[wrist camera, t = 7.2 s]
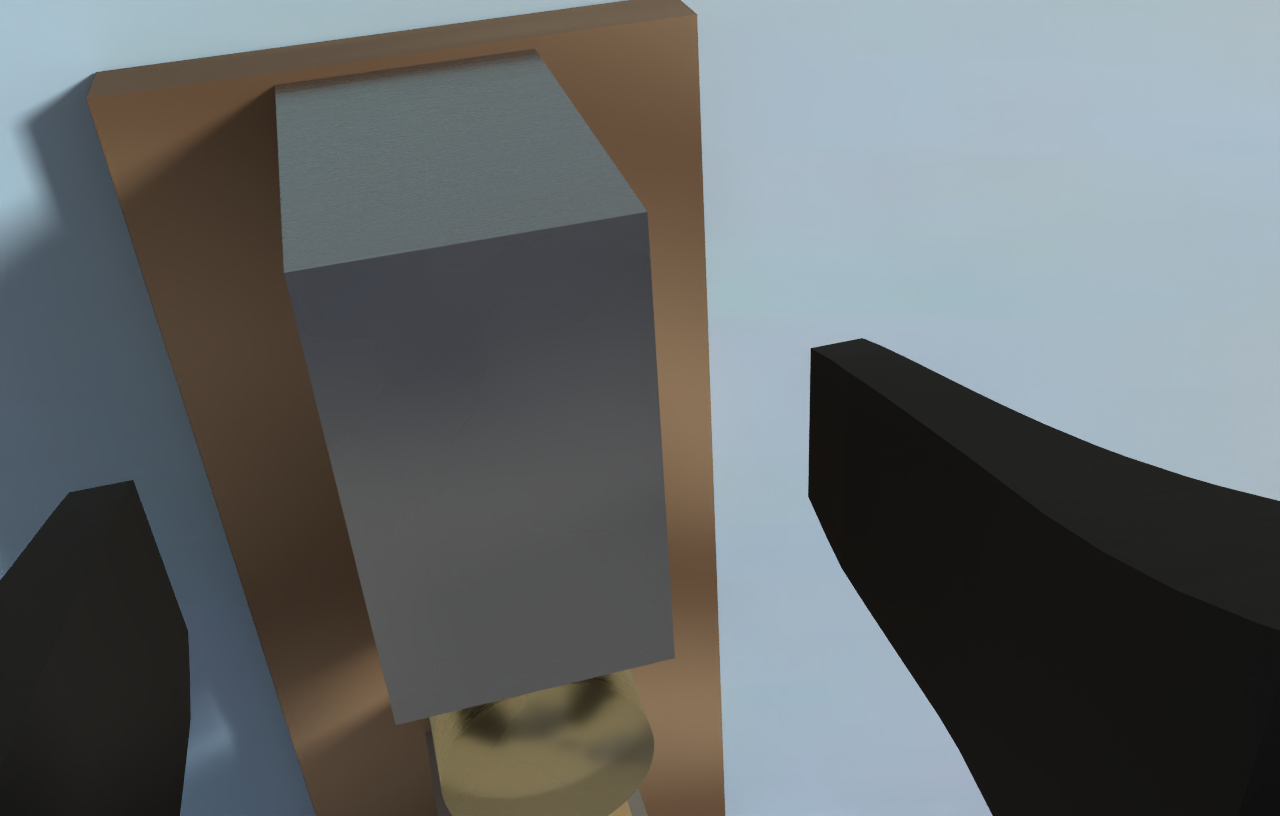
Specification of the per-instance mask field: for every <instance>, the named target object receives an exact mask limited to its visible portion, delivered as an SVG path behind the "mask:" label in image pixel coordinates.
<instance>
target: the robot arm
mask: <svg viewBox="0 0 1280 816" xmlns="http://www.w3.org/2000/svg"><path fill="white" fill-rule="evenodd" d="M808 497H809V499H810V501H811V503H812V506H813V508H814V510H815V512H816V515H817V517H818V519H819V521H820V523H821V526H822V528H823V530H824V532H825V535H826V537H827V539H828V541H829V543H830V545H831V547H832V549H833V551H834V553H835V555H836V557H837V559H838V561H839V563H840V566H841V568H842V569H843V571H844V572H845V574H846V576H847V577H848V579H849V580H850V582H851V583H852V585H853V587H854V588H855V590H856V591H857V593H858V594H859V596H860V597H861V599H862V600H863V602H864V604H865V605H866V607H867V608H868V610H869V611H870V613H871V614H872V616H873V617H874V619H875V620H876V622H877V623H878V625H879V626H880V628H881V629H882V631H883V632H884V634H885V636H886V637H887V639H888V640H889V642H890V643H891V645H892V646H893V648H894V649H895V651H896V652H897V654H898V655H899V657H900V658H901V660H902V661H903V663H904V664H905V666H906V667H907V669H908V670H909V672H910V673H911V675H912V676H913V678H914V679H915V681H916V682H917V684H918V685H919V687H920V688H921V690H922V691H923V693H924V694H925V696H926V697H927V699H928V700H929V702H930V703H931V705H932V706H933V708H934V709H935V711H936V712H937V714H938V715H939V717H940V719H941V720H942V722H943V724H944V725H945V727H946V729H947V730H948V732H949V734H950V735H951V737H952V739H953V740H954V742H955V744H956V746H957V747H958V749H959V751H960V753H961V755H962V756H963V758H964V760H965V762H966V764H967V766H968V768H969V770H970V772H971V774H972V776H973V778H974V780H975V782H976V784H977V786H978V788H979V790H980V792H981V794H982V795H983V797H984V799H985V801H986V803H987V805H988V807H989V809H990V811H991V813H992V815H993V816H1280V501H1277V500H1273V499H1269V498H1265V497H1261V496H1257V495H1253V494H1249V493H1245V492H1241V491H1237V490H1233V489H1229V488H1225V487H1221V486H1217V485H1214V484H1210V483H1207V482H1203V481H1200V480H1196V479H1193V478H1189V477H1186V476H1183V475H1180V474H1177V473H1174V472H1171V471H1168V470H1165V469H1162V468H1159V467H1156V466H1153V465H1150V464H1146V463H1143V462H1140V461H1137V460H1134V459H1131V458H1128V457H1125V456H1123V455H1120V454H1117V453H1115V452H1112V451H1109V450H1106V449H1104V448H1101V447H1099V446H1096V445H1093V444H1091V443H1089V442H1086V441H1084V440H1081V439H1079V438H1076V437H1074V436H1072V435H1069V434H1067V433H1064V432H1062V431H1060V430H1057V429H1055V428H1052V427H1050V426H1048V425H1045V424H1043V423H1041V422H1038V421H1036V420H1034V419H1032V418H1030V417H1027V416H1025V415H1023V414H1021V413H1018V412H1016V411H1014V410H1012V409H1010V408H1008V407H1006V406H1003V405H1001V404H999V403H997V402H995V401H993V400H991V399H989V398H987V397H985V396H982V395H980V394H978V393H976V392H974V391H972V390H970V389H968V388H966V387H964V386H962V385H960V384H958V383H956V382H954V381H952V380H950V379H948V378H946V377H944V376H942V375H940V374H938V373H936V372H934V371H932V370H930V369H928V368H926V367H924V366H922V365H920V364H918V363H916V362H914V361H912V360H910V359H908V358H906V357H904V356H902V355H899V354H897V353H895V352H893V351H891V350H889V349H887V348H885V347H882V346H880V345H878V344H875V343H873V342H870V341H868V340H866V339H863V338H861V339H856V340H851V341H846V342H841V343H836V344H830V345H825V346H820V347H815V348H811V370H810V428H809V486H808ZM189 728H190V670H189V644H188V630H187V628H186V625H185V622H184V619H183V617H182V614H181V611H180V608H179V605H178V603H177V600H176V597H175V594H174V592H173V589H172V586H171V583H170V581H169V578H168V575H167V572H166V570H165V567H164V564H163V561H162V559H161V556H160V553H159V550H158V547H157V545H156V542H155V539H154V536H153V534H152V531H151V528H150V525H149V523H148V520H147V517H146V514H145V512H144V509H143V506H142V503H141V501H140V498H139V495H138V492H137V489H136V487H135V484H134V481H133V480H131V481H126V482H121V483H116V484H111V485H106V486H100V487H95V488H90V489H85V490H80V491H75V492H70V493H69V494H68V495H67V496H66V497H65V498H64V499H63V501H62V502H61V503H60V504H59V506H58V507H57V508H56V509H55V511H54V512H53V513H52V514H51V516H50V517H49V518H48V520H47V521H46V522H45V523H44V525H43V526H42V527H41V529H40V530H39V531H38V533H37V534H36V535H35V537H34V538H33V539H32V540H31V542H30V543H29V544H28V546H27V547H26V548H25V550H24V551H23V552H22V553H21V555H20V556H19V557H18V559H17V560H16V561H15V562H14V564H13V565H12V566H11V568H10V569H9V570H8V571H7V573H6V574H5V575H4V576H3V578H2V579H1V580H0V816H180V809H181V800H182V792H183V783H184V774H185V765H186V756H187V747H188V738H189Z"/></svg>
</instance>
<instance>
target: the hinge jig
mask: <svg viewBox="0 0 1280 816" xmlns="http://www.w3.org/2000/svg"><path fill="white" fill-rule="evenodd" d="M529 49H535V50H536V51H537V53H538V54H539V56H540V57H541V58H542V60H543V61H544V63H545V64H546V66H547V67H548V69H549V70H550V71H551V73H552V74H553V76H554V77H555V79H556V80H557V82H558V83H559V84H560V86H561V87H562V89H563V90H564V92H565V93H566V95H567V96H568V97H569V99H570V100H571V102H572V103H573V105H574V106H575V108H576V109H577V110H578V112H579V113H580V115H581V116H582V118H583V119H584V121H585V122H586V123H587V125H588V126H589V128H590V129H591V131H592V132H593V134H594V135H595V137H596V138H597V139H598V141H599V142H600V144H601V145H602V147H603V148H604V150H605V151H606V152H607V154H608V155H609V157H610V158H611V160H612V161H613V163H614V164H615V165H616V167H617V168H618V170H619V171H620V173H621V174H622V176H623V177H624V178H625V180H626V181H627V183H628V184H629V186H630V187H631V189H632V190H633V191H634V193H635V194H636V196H637V197H638V199H639V200H640V202H641V203H642V205H643V206H644V207H645V209H646V210H647V212H648V227H649V243H650V260H651V276H652V292H653V308H654V325H655V341H656V357H657V373H658V390H659V406H660V422H661V439H662V455H663V471H664V487H665V504H666V520H667V536H668V552H669V569H670V585H671V601H672V617H673V634H674V650H675V658H674V659H669V660H665V661H661V662H657V663H653V664H649V665H644V666H640V667H636V668H632V669H630V672H631V674H632V677H633V680H634V683H635V685H636V688H637V691H638V693H639V696H640V699H641V702H642V704H643V707H644V710H645V713H646V715H647V718H648V721H649V724H650V726H651V729H652V732H653V737H654V754H653V759H652V763H651V765H650V768H649V771H648V773H647V775H646V777H645V778H644V780H643V782H642V783H641V785H640V786H639V787H638V789H637V790H636V791H635V792H634V794H633V795H632V796H631V797H630V798H629V799H628V800H627V801H626V802H625V803H624V804H623V805H621V806H620V807H619V808H618V809H616V810H615V811H614V812H612V813H611V814H610V815H608V816H725V798H724V770H723V741H722V713H721V685H720V656H719V628H718V600H717V571H716V543H715V515H714V486H713V458H712V429H711V401H710V373H709V344H708V316H707V288H706V259H705V231H704V202H703V174H702V146H701V117H700V89H699V61H698V32H697V14H696V13H695V12H694V11H693V10H691V9H690V8H689V7H688V6H687V5H685V4H684V3H683V2H682V1H681V0H628V1H620V2H613V3H606V4H598V5H591V6H583V7H576V8H569V9H561V10H554V11H546V12H539V13H532V14H524V15H517V16H509V17H502V18H494V19H487V20H480V21H472V22H465V23H457V24H450V25H443V26H435V27H428V28H420V29H413V30H406V31H398V32H391V33H383V34H376V35H369V36H361V37H354V38H346V39H339V40H332V41H324V42H317V43H309V44H302V45H295V46H287V47H280V48H272V49H265V50H257V51H250V52H243V53H235V54H228V55H220V56H213V57H206V58H198V59H191V60H183V61H176V62H169V63H161V64H154V65H146V66H139V67H132V68H124V69H117V70H109V71H102V72H96V73H95V76H94V79H93V82H92V84H91V87H90V90H89V93H88V95H87V98H86V100H87V103H88V106H89V109H90V112H91V115H92V118H93V122H94V125H95V128H96V131H97V134H98V137H99V140H100V143H101V147H102V150H103V153H104V156H105V159H106V162H107V165H108V168H109V171H110V175H111V178H112V181H113V184H114V187H115V190H116V193H117V196H118V200H119V203H120V206H121V209H122V212H123V215H124V218H125V221H126V224H127V228H128V231H129V234H130V237H131V240H132V243H133V246H134V249H135V253H136V256H137V259H138V262H139V265H140V268H141V271H142V274H143V278H144V281H145V284H146V287H147V290H148V293H149V296H150V299H151V302H152V306H153V309H154V312H155V315H156V318H157V321H158V324H159V327H160V331H161V334H162V337H163V340H164V343H165V346H166V349H167V352H168V355H169V359H170V362H171V365H172V368H173V371H174V374H175V377H176V380H177V384H178V387H179V390H180V393H181V396H182V399H183V402H184V405H185V409H186V412H187V415H188V418H189V421H190V424H191V427H192V430H193V433H194V437H195V440H196V443H197V446H198V449H199V452H200V455H201V458H202V462H203V465H204V468H205V471H206V474H207V477H208V480H209V483H210V486H211V490H212V493H213V496H214V499H215V502H216V505H217V508H218V511H219V515H220V518H221V521H222V524H223V527H224V530H225V533H226V536H227V540H228V543H229V546H230V549H231V552H232V555H233V558H234V561H235V564H236V568H237V571H238V574H239V577H240V580H241V583H242V586H243V589H244V593H245V596H246V599H247V602H248V605H249V608H250V611H251V614H252V617H253V621H254V624H255V627H256V630H257V633H258V636H259V639H260V642H261V646H262V649H263V652H264V655H265V658H266V661H267V664H268V667H269V670H270V674H271V677H272V680H273V683H274V686H275V689H276V692H277V695H278V699H279V702H280V705H281V708H282V711H283V714H284V717H285V720H286V724H287V727H288V730H289V733H290V736H291V739H292V742H293V745H294V748H295V752H296V755H297V758H298V761H299V764H300V767H301V770H302V773H303V777H304V780H305V783H306V786H307V789H308V792H309V795H310V798H311V801H312V805H313V808H314V811H315V814H316V816H453V815H452V814H451V813H450V811H449V810H448V808H447V806H446V804H445V802H444V799H443V796H442V790H441V784H440V778H439V772H438V766H437V760H436V754H435V748H434V742H433V735H432V729H431V723H430V717H428V718H424V719H420V720H416V721H411V722H407V723H403V724H399V725H396V724H395V720H394V716H393V712H392V708H391V704H390V700H389V696H388V692H387V688H386V684H385V680H384V676H383V672H382V667H381V663H380V659H379V655H378V651H377V647H376V643H375V639H374V635H373V631H372V627H371V623H370V619H369V615H368V611H367V607H366V603H365V599H364V595H363V591H362V587H361V583H360V579H359V574H358V570H357V566H356V562H355V558H354V554H353V550H352V546H351V542H350V538H349V534H348V530H347V526H346V522H345V518H344V514H343V510H342V506H341V502H340V498H339V494H338V490H337V485H336V481H335V477H334V473H333V469H332V465H331V461H330V457H329V453H328V449H327V445H326V441H325V437H324V433H323V429H322V425H321V421H320V417H319V413H318V409H317V405H316V401H315V397H314V392H313V388H312V384H311V380H310V376H309V372H308V368H307V364H306V360H305V356H304V352H303V348H302V344H301V340H300V336H299V332H298V328H297V324H296V320H295V316H294V312H293V308H292V303H291V299H290V295H289V291H288V287H287V283H286V279H285V275H284V264H283V243H282V222H281V201H280V180H279V159H278V138H277V117H276V97H275V85H277V84H285V83H292V82H299V81H306V80H313V79H321V78H328V77H335V76H342V75H349V74H356V73H364V72H371V71H378V70H385V69H392V68H400V67H407V66H414V65H421V64H428V63H435V62H443V61H450V60H457V59H464V58H471V57H479V56H486V55H493V54H500V53H507V52H514V51H522V50H529Z"/></svg>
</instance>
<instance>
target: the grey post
mask: <svg viewBox="0 0 1280 816" xmlns="http://www.w3.org/2000/svg"><path fill="white" fill-rule="evenodd" d="M275 97H276V117H277V138H278V159H279V180H280V201H281V222H282V243H283V264H284V275H285V279H286V283H287V287H288V291H289V295H290V299H291V303H292V308H293V312H294V316H295V320H296V324H297V328H298V332H299V336H300V340H301V344H302V348H303V352H304V356H305V360H306V364H307V368H308V372H309V376H310V380H311V384H312V388H313V392H314V397H315V401H316V405H317V409H318V413H319V417H320V421H321V425H322V429H323V433H324V437H325V441H326V445H327V449H328V453H329V457H330V461H331V465H332V469H333V473H334V477H335V481H336V485H337V490H338V494H339V498H340V502H341V506H342V510H343V514H344V518H345V522H346V526H347V530H348V534H349V538H350V542H351V546H352V550H353V554H354V558H355V562H356V566H357V570H358V574H359V579H360V583H361V587H362V591H363V595H364V599H365V603H366V607H367V611H368V615H369V619H370V623H371V627H372V631H373V635H374V639H375V643H376V647H377V651H378V655H379V659H380V663H381V667H382V672H383V676H384V680H385V684H386V688H387V692H388V696H389V700H390V704H391V708H392V712H393V716H394V720H395V724H396V725H399V724H403V723H407V722H411V721H416V720H420V719H424V718H428V717H430V723H431V729H432V735H433V742H434V748H435V754H436V760H437V766H438V772H439V778H440V784H441V790H442V796H443V799H444V802H445V804H446V806H447V808H448V810H449V811H450V813H451V814H452V815H453V816H608V815H610V814H611V813H612V812H614V811H615V810H616V809H618V808H619V807H620V806H621V805H623V804H624V803H625V802H626V801H627V800H628V799H629V798H630V797H631V796H632V795H633V794H634V792H635V791H636V790H637V789H638V787H639V786H640V785H641V783H642V782H643V780H644V778H645V777H646V775H647V773H648V771H649V768H650V765H651V763H652V759H653V754H654V737H653V732H652V729H651V726H650V724H649V721H648V718H647V715H646V713H645V710H644V707H643V704H642V702H641V699H640V696H639V693H638V691H637V688H636V685H635V683H634V680H633V677H632V674H631V672H630V669H632V668H636V667H640V666H644V665H649V664H653V663H657V662H661V661H665V660H669V659H674V658H675V650H674V634H673V617H672V601H671V585H670V569H669V552H668V536H667V520H666V504H665V487H664V471H663V455H662V439H661V422H660V406H659V390H658V373H657V357H656V341H655V325H654V308H653V292H652V276H651V260H650V243H649V227H648V212H647V210H646V209H645V207H644V206H643V205H642V203H641V202H640V200H639V199H638V197H637V196H636V194H635V193H634V191H633V190H632V189H631V187H630V186H629V184H628V183H627V181H626V180H625V178H624V177H623V176H622V174H621V173H620V171H619V170H618V168H617V167H616V165H615V164H614V163H613V161H612V160H611V158H610V157H609V155H608V154H607V152H606V151H605V150H604V148H603V147H602V145H601V144H600V142H599V141H598V139H597V138H596V137H595V135H594V134H593V132H592V131H591V129H590V128H589V126H588V125H587V123H586V122H585V121H584V119H583V118H582V116H581V115H580V113H579V112H578V110H577V109H576V108H575V106H574V105H573V103H572V102H571V100H570V99H569V97H568V96H567V95H566V93H565V92H564V90H563V89H562V87H561V86H560V84H559V83H558V82H557V80H556V79H555V77H554V76H553V74H552V73H551V71H550V70H549V69H548V67H547V66H546V64H545V63H544V61H543V60H542V58H541V57H540V56H539V54H538V53H537V51H536V50H535V49H529V50H522V51H514V52H507V53H500V54H493V55H486V56H479V57H471V58H464V59H457V60H450V61H443V62H435V63H428V64H421V65H414V66H407V67H400V68H392V69H385V70H378V71H371V72H364V73H356V74H349V75H342V76H335V77H328V78H321V79H313V80H306V81H299V82H292V83H285V84H277V85H275Z"/></svg>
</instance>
